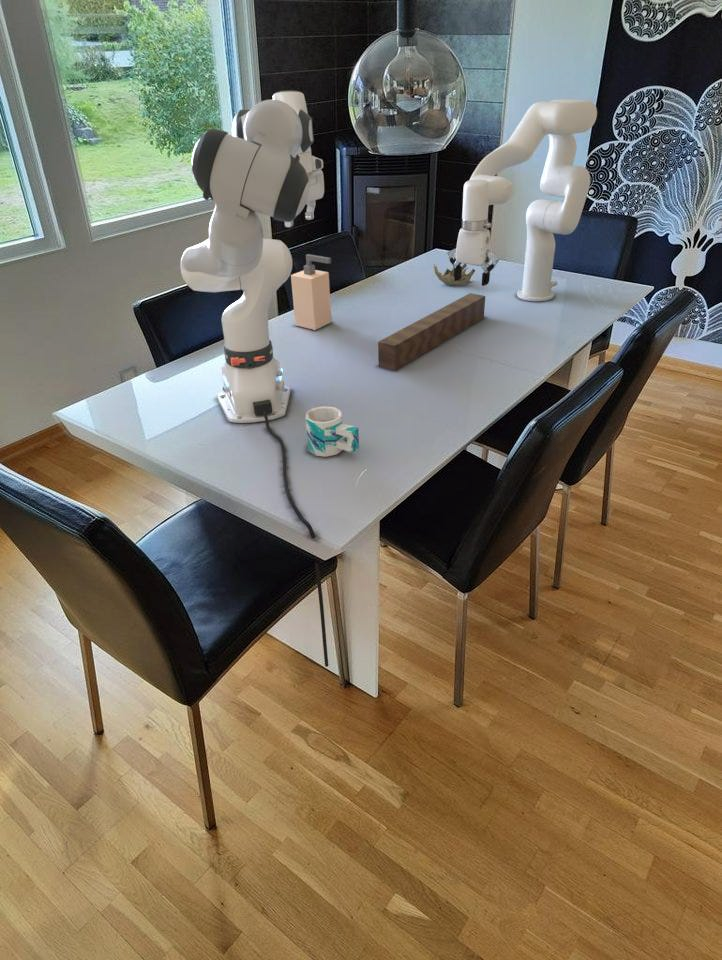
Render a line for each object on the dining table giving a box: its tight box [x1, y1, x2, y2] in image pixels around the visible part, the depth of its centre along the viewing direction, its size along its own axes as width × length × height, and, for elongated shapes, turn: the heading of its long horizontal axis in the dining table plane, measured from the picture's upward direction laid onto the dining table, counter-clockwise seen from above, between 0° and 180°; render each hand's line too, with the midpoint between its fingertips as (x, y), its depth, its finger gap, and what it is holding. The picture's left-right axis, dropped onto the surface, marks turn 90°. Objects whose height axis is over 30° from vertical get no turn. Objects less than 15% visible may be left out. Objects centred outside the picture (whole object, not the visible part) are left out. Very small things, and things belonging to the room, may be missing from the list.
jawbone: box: [433, 263, 476, 286], centre depth 246 cm, size 9×15×10 cm
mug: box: [305, 405, 360, 458], centre depth 147 cm, size 8×12×8 cm
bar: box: [377, 292, 486, 371], centre depth 201 cm, size 50×6×7 cm, turn 142°
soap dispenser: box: [290, 253, 333, 331], centre depth 211 cm, size 13×9×22 cm
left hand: (299, 222), depth 175 cm, fingers open, 8 cm apart
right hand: (471, 282), depth 209 cm, fingers open, 9 cm apart
